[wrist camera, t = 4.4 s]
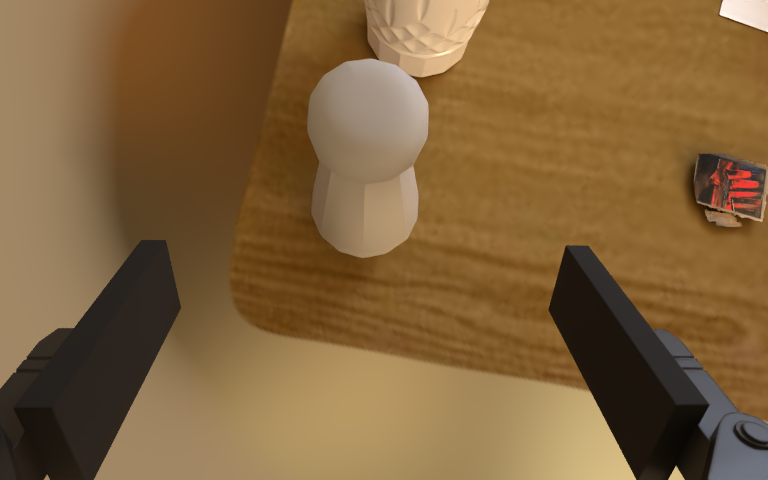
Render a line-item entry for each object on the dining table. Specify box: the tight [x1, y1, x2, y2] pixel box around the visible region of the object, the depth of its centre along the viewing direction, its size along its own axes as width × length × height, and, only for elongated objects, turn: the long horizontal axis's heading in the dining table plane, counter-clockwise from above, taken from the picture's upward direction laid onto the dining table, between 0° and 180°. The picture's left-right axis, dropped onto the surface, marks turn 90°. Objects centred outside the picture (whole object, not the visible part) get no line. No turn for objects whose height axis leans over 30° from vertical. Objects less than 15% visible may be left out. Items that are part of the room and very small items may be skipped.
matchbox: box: [691, 153, 768, 227], centre depth 30 cm, size 5×5×1 cm
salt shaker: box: [307, 59, 428, 258], centre depth 22 cm, size 6×6×13 cm
